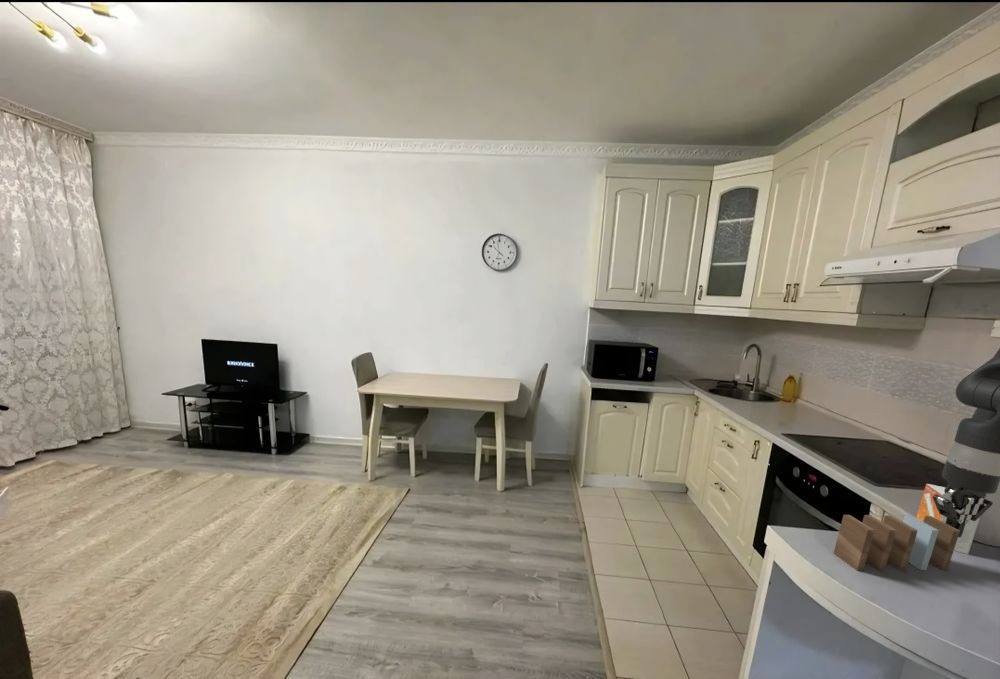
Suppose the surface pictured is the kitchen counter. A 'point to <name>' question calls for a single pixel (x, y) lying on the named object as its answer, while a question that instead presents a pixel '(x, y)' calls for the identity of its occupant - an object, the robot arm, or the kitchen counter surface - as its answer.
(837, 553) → the domino
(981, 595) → the kitchen counter surface
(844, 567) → the kitchen counter surface
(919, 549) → the domino
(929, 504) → the small box
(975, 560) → the kitchen counter surface
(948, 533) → the domino
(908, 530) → the domino
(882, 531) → the domino
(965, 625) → the kitchen counter surface
